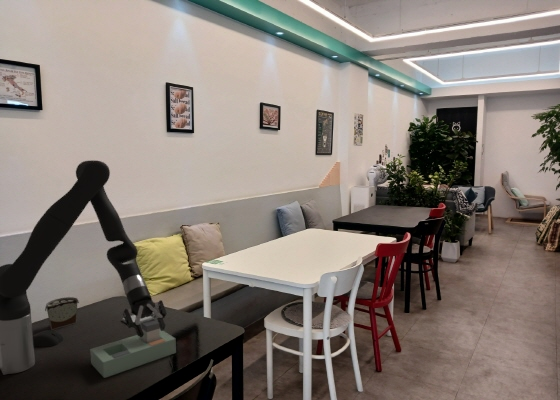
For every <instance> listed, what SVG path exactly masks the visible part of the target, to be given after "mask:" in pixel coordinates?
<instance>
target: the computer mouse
mask: <svg viewBox="0 0 560 400" xmlns="http://www.w3.org/2000/svg"><path fill="white" fill-rule="evenodd" d="M63 340H64V337H63V335H62V334H61V333H60V332H58V331H55V330H51V329H49V330H48V329H46V330H42V331H40V332H38V333H36V334H35V335H33V345H34V347H53V346H57V345H59V343H61V342H62V341H63Z"/></svg>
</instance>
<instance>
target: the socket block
mask: <svg viewBox="0 0 560 400" xmlns="http://www.w3.org/2000/svg"><path fill="white" fill-rule="evenodd" d="M159 330H160V327H159ZM176 343H177V342H176V337H174V336H172V335H170V334H169V333H167V331H165V330H163V331H161V330H160V340H157V341H154V342H150V343H148V344H146V343H145V342H143V341H142V337H141V338H140V336H138V335H137V334H135V335H132V336H130V337H126V338H122V339H120V340H116V341H112V342H109V343H106V344H103V345H99V346H96V347H93V348H90V349H89V351H90V353H89V354H90V364H91V365H92V366H93V368H94V369H95V370H96V371H97V372H98V373H99V374H100V375H101V376H102V377H103V378H104V379H105V378H108V377H111V376H114V375H117V374H119V373H123V372H126V371H128V370H131V369H135V368H136V367H139V366H140V367H141V366H142V365H145V364H149V363H151V362H153V361H157V360H160V359H162V358H165V357H168V356H171V355H173V354H177V344H176Z"/></svg>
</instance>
